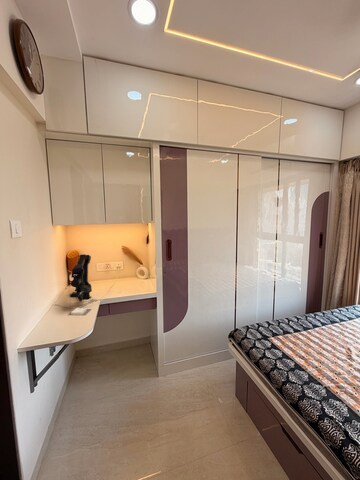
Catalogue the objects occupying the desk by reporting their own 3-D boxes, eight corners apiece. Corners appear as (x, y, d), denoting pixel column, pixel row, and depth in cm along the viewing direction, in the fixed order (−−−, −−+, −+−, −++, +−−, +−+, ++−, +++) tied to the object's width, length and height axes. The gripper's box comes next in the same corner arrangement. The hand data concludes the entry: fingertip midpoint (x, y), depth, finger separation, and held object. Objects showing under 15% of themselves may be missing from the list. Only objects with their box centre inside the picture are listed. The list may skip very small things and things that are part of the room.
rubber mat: (74, 309, 161) (74, 308, 161) (92, 309, 160) (91, 308, 160) (67, 315, 151) (67, 315, 151) (85, 316, 150) (85, 315, 150)
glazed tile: (76, 308, 158) (71, 312, 151) (86, 308, 157) (81, 312, 151) (76, 310, 158) (71, 315, 151) (86, 310, 158) (81, 315, 151)
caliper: (92, 298, 178) (98, 299, 176) (92, 300, 178) (98, 300, 176) (74, 309, 158) (80, 309, 157) (74, 310, 158) (80, 311, 157)
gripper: (82, 287, 153) (84, 306, 155) (94, 278, 171) (95, 296, 173) (68, 287, 153) (70, 306, 156) (81, 278, 172) (83, 296, 174)
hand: (80, 301), depth 165 cm, fingers closed
